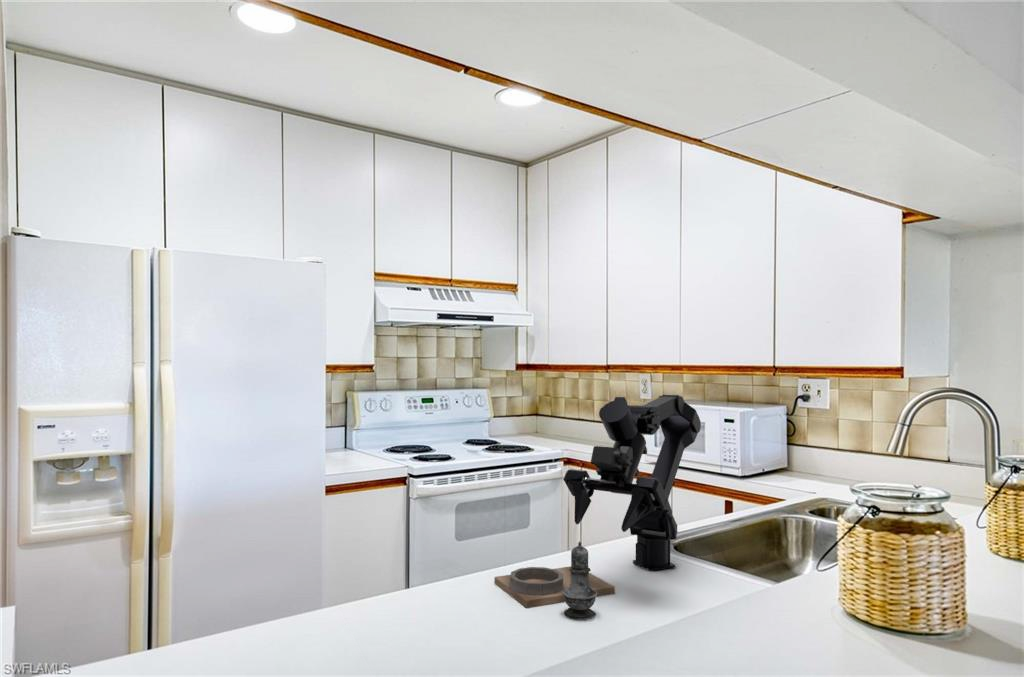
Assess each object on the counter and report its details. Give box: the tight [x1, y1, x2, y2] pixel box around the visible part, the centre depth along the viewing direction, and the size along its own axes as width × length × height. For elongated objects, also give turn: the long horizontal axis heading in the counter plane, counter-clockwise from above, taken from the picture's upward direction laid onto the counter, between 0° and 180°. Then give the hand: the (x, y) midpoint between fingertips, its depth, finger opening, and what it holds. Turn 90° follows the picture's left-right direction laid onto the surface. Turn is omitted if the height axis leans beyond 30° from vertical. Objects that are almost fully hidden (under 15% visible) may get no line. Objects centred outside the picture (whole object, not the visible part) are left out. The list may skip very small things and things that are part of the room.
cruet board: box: [494, 565, 616, 609], centre depth 119 cm, size 18×14×3 cm
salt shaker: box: [562, 541, 598, 621], centre depth 107 cm, size 6×6×12 cm
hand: (599, 526), depth 113 cm, fingers open, 9 cm apart
